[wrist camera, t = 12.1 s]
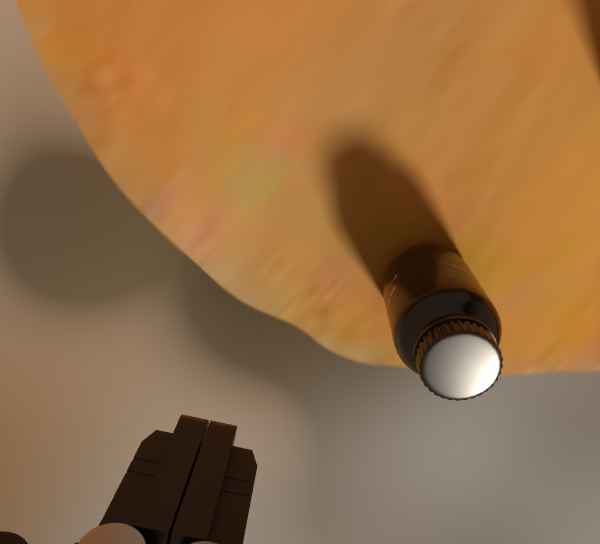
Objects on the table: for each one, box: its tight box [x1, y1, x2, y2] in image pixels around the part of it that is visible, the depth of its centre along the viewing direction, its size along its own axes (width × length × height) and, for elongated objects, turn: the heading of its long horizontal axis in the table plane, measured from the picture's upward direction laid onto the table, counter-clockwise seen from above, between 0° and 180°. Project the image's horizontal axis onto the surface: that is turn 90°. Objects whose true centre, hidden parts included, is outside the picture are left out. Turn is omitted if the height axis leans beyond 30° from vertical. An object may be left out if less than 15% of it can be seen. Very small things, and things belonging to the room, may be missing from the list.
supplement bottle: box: [383, 245, 503, 401], centre depth 35 cm, size 7×7×12 cm
